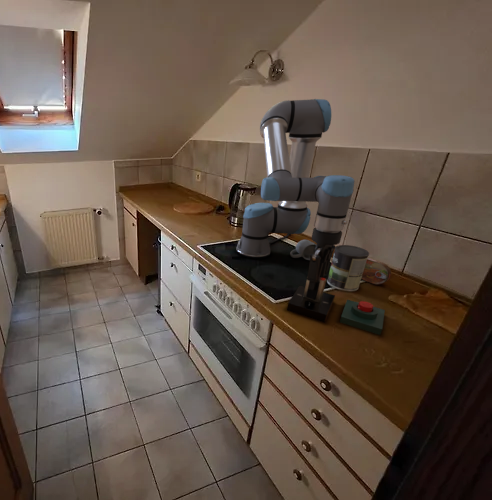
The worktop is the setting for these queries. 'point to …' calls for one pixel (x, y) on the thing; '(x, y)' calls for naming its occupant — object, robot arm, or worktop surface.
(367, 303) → the button
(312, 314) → the black rectangular base
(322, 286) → the tan upright slab
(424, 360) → the worktop surface
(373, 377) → the worktop surface
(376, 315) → the block
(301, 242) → the ceramic mug
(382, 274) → the tin
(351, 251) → the coffee can
